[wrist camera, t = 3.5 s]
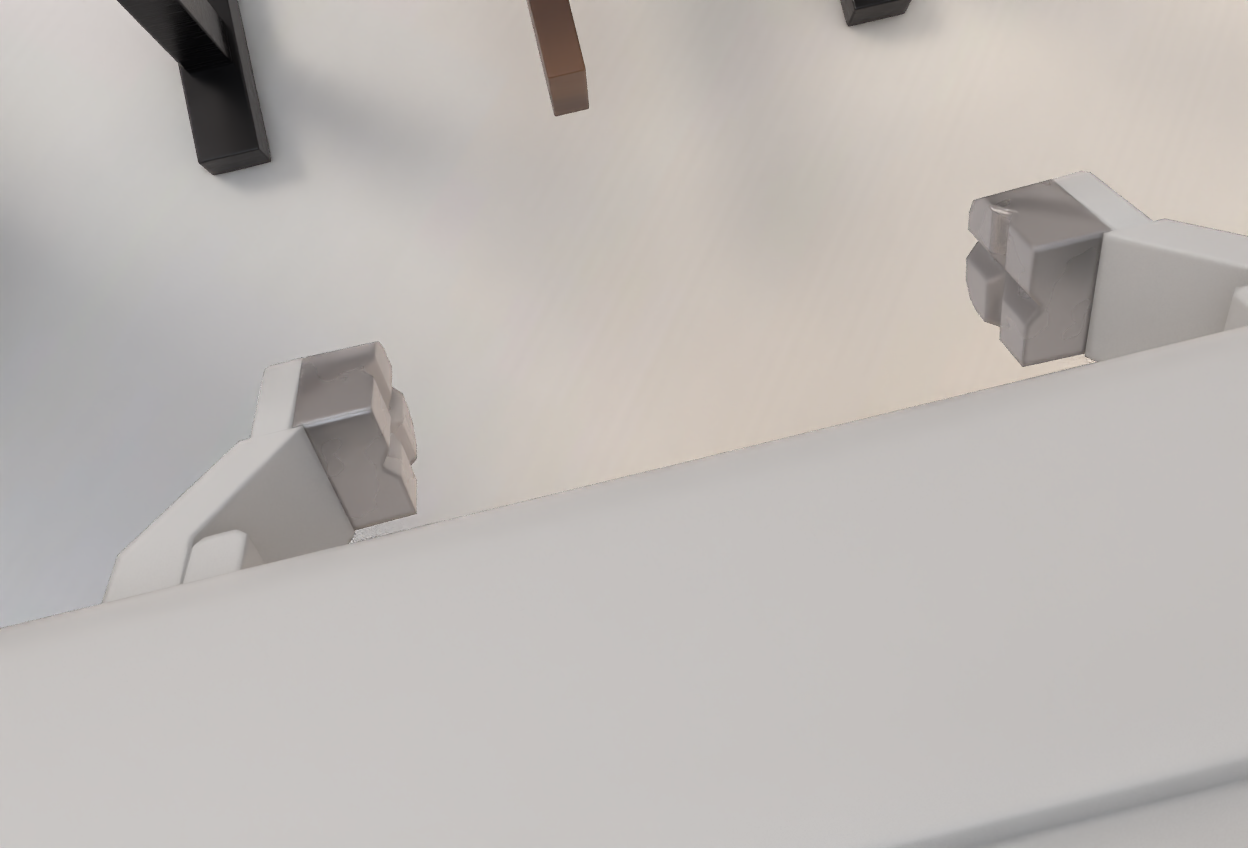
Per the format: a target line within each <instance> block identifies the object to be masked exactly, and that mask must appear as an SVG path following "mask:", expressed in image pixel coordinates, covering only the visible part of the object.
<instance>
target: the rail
mask: <svg viewBox="0 0 1248 848" xmlns="http://www.w3.org/2000/svg"><path fill="white" fill-rule="evenodd" d="M117 1H118V2H119V3H120V4H121V5H122V6H123V7H124V8H125V9H126V10H127V11H128V12H129V13H130V14H131V15H132V16H133V17H134V18H135V19H136V20H137V21H138V22H139V23H140V25H141V26H142V27H143V28H144V29H145V30H146V31H147V32H148V33H149V34H150V35H151V36H152V37H153V38H154V39H155V40H156V41H157V42H158V43H159V44H160V45H161V46H162V47H163V48H164V49H165V50H166V51H167V52H168V53H169V54H170V55H171V56H172V57H173V58H174V59H175V60H176V61H177V62H178V65H179V70H180V75H181V80H182V85H183V89H184V94H185V99H186V104H187V109H188V114H189V119H190V124H191V129H192V134H193V138H194V143H195V148H196V153H197V158H198V162H199V164H201V165H202V166H203V167H204V168H205V169H207V170H208V171H209V172H210V173H211V174H212V175H216V174H221V173H225V172H229V171H233V170H238V169H242V168H246V167H251V166H255V165H259V164H263V163H268V162H271V157H270V152H269V147H268V142H267V138H266V133H265V128H264V124H263V119H262V114H261V109H260V105H259V100H258V95H257V91H256V86H255V81H254V76H253V72H252V67H251V62H250V57H249V53H248V48H247V43H246V39H245V34H244V29H243V24H242V20H241V15H240V10H239V6H238V1H237V0H117ZM910 2H911V0H841V4H842V8H843V11H844V15H845V19H846V22H847V25H848V26H853V25H857V24H861V23H866V22H870V21H874V20H878V19H883V18H887V17H891V16H896V15H900V14H904V13H905V11H906V10H907V8H908V6H909V4H910Z"/></svg>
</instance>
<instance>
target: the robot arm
mask: <svg viewBox="0 0 1248 848" xmlns="http://www.w3.org/2000/svg"><path fill="white" fill-rule="evenodd" d="M968 230H969V231H970V232H971V233H972V234H973V235H974V237H975V238H976V239H977V240H978V242H977V243H976V245H975V246H974V248H973V249H972V251H971V252H970V254H969V255H968V256H967V258H966V282H967V286H968V291H969V296H970V299H971V301H972V303H973V305H974V308H975V310H976V311H977V313H978V314H979V315H980V316H981V318H982V319H983V320H984V321H985V322H988V323H990V324H993V325H996V326H999V327H1000V339H999V340H1000V341H1001V342H1002V343H1003V344H1004V345H1005V347H1006V348H1007V349H1008V350H1009V351H1010V352H1011V354H1012V355H1013V356H1014V357H1015V358H1016V360H1017V361H1018V362H1019V363H1020V364H1021V365H1022V367H1024V366H1029V365H1034V364H1038V363H1043V362H1048V361H1052V360H1057V359H1062V358H1066V357H1071V356H1075V355H1080V354H1085V357H1088V358H1090V359H1092V360H1094V361H1096V362H1095V363H1091V364H1086V365H1082V366H1078V367H1074V368H1070V369H1066V370H1062V371H1058V372H1054V373H1049V374H1045V375H1041V376H1037V377H1033V378H1029V379H1025V380H1021V381H1016V382H1012V383H1008V384H1004V385H1000V386H996V387H992V388H988V389H984V390H979V391H975V392H971V393H967V394H963V395H959V396H955V397H951V398H947V399H942V400H938V401H934V402H930V403H926V404H922V405H918V406H914V407H909V408H905V409H901V410H897V411H893V412H889V413H885V414H881V415H877V416H872V417H868V418H864V419H860V420H856V421H852V422H848V423H844V424H839V425H835V426H831V427H827V428H823V429H819V430H815V431H811V432H807V433H802V434H798V435H794V436H790V437H786V438H782V439H778V440H774V441H769V442H765V443H761V444H757V445H753V446H749V447H745V448H741V449H737V450H732V451H728V452H724V453H720V454H716V455H712V456H708V457H704V458H699V459H695V460H691V461H687V462H683V463H679V464H675V465H671V466H666V467H662V468H658V469H654V470H650V471H646V472H642V473H638V474H634V475H629V476H625V477H621V478H617V479H613V480H609V481H605V482H601V483H596V484H592V485H588V486H584V487H580V488H576V489H572V490H568V491H563V492H559V493H555V494H551V495H547V496H543V497H539V498H535V499H531V500H526V501H522V502H518V503H514V504H510V505H506V506H502V507H498V508H493V509H489V510H485V511H481V512H477V513H473V514H469V515H465V516H460V517H456V518H452V519H448V520H444V521H440V522H436V523H432V524H428V525H423V526H419V527H415V528H411V529H407V530H403V531H399V532H395V533H391V534H386V535H382V536H378V537H374V538H370V539H366V540H362V541H358V542H353V543H350V541H351V540H352V538H353V537H354V535H355V534H356V533H355V530H358V529H362V528H366V527H369V526H373V525H377V524H380V523H384V522H388V521H392V520H395V519H399V518H403V517H406V516H410V515H414V514H417V479H416V477H415V474H414V472H413V469H412V467H411V465H412V464H413V463H414V461H415V460H416V459H417V444H416V438H415V432H414V427H413V422H412V419H411V416H410V412H409V409H408V406H407V404H406V401H405V398H404V396H403V393H401V392H400V391H398V390H396V389H395V388H393V387H392V366H391V364H390V361H389V359H388V357H387V355H386V352H385V350H384V348H383V346H382V345H381V344H380V343H379V342H378V341H377V342H372V343H367V344H363V345H358V346H354V347H349V348H345V349H340V350H335V351H331V352H326V353H322V354H317V355H313V356H308V357H306V358H303V357H301V358H297V359H293V360H290V361H286V362H282V363H278V364H274V365H270V366H269V367H267V368H266V369H265V370H264V374H263V378H262V383H261V388H260V392H259V397H258V402H257V406H256V411H255V416H254V421H253V425H252V430H251V435H250V438H249V439H245V440H241V441H238V442H237V443H236V444H235V445H234V446H233V447H232V448H231V449H230V450H229V451H228V452H227V453H226V454H225V455H224V456H223V457H221V458H220V459H219V460H218V461H217V462H216V463H215V464H214V465H213V466H212V467H211V468H210V469H209V470H208V471H207V472H206V473H204V474H203V475H202V476H201V477H200V478H199V479H198V480H197V481H196V482H195V483H194V484H193V485H192V486H191V487H190V488H189V489H187V490H186V491H185V492H184V493H183V494H182V495H181V496H180V497H179V498H178V499H177V500H176V501H175V502H174V503H173V504H171V505H170V506H169V507H168V508H167V509H166V510H165V511H164V512H163V513H162V514H161V515H160V516H159V517H158V518H157V519H156V520H154V521H153V522H152V523H151V524H150V525H149V526H148V527H147V528H146V529H145V530H144V531H143V532H142V533H141V534H140V535H139V536H137V537H136V538H135V539H134V540H133V541H132V542H131V543H130V544H129V545H128V546H127V547H126V548H125V549H124V550H123V551H122V552H120V553H119V554H118V555H117V558H116V561H115V564H114V567H113V570H112V573H111V576H110V579H109V582H108V585H107V588H106V591H105V594H104V597H103V600H102V603H101V604H98V605H94V606H89V607H85V608H81V609H77V610H73V611H69V612H65V613H61V614H56V615H52V616H48V617H44V618H40V619H36V620H32V621H28V622H23V623H19V624H15V625H11V626H7V627H3V628H0V848H1248V236H1245V235H1240V234H1235V233H1231V232H1226V231H1221V230H1216V229H1212V228H1207V227H1202V226H1197V225H1193V224H1188V223H1183V222H1178V221H1174V220H1169V219H1161V220H1156V221H1152V220H1151V219H1150V218H1149V217H1147V216H1146V215H1145V214H1143V213H1142V212H1141V211H1140V210H1138V209H1137V208H1136V207H1134V206H1133V205H1132V204H1131V203H1129V202H1128V201H1127V200H1125V199H1124V198H1123V197H1122V196H1120V195H1119V194H1118V193H1117V192H1115V191H1114V190H1113V189H1111V188H1110V187H1109V186H1108V185H1106V184H1105V183H1104V182H1102V181H1101V180H1100V179H1099V178H1097V177H1096V176H1095V175H1093V174H1092V173H1091V172H1085V171H1079V172H1075V173H1072V174H1068V175H1065V176H1061V177H1058V178H1054V179H1050V180H1047V181H1043V182H1039V183H1035V184H1032V185H1028V186H1024V187H1020V188H1017V189H1013V190H1009V191H1005V192H1002V193H998V194H994V195H990V196H986V197H983V198H979V199H976V200H973V202H972V205H971V208H970V211H969V222H968Z"/></svg>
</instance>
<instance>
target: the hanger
mask: <svg viewBox="0 0 1248 848" xmlns="http://www.w3.org/2000/svg"><path fill="white" fill-rule="evenodd" d="M527 4H528V8H529V13H530V17H531V21H532V25H533V29H534V33H535V37H536V41H537V46H538V50H539V54H540V58H541V62H542V66H543V70H544V74H545V78H546V83H547V87H548V91H549V95H550V99H551V103H552V107H553V111H554V115H555V116H560V115H564V114H568V113H572V112H577V111H581V110H585V109H588V108H589V101H588V90H587V79H586V69H585V65H584V61H583V57H582V52H581V48H580V44H579V40H578V36H577V32H576V28H575V24H574V20H573V16H572V12H571V8H570V4H569V0H527Z"/></svg>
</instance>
